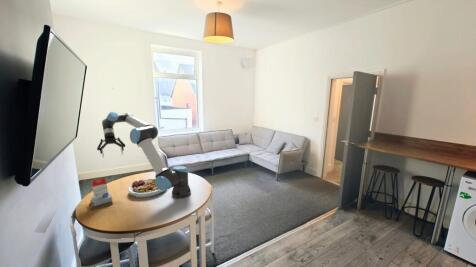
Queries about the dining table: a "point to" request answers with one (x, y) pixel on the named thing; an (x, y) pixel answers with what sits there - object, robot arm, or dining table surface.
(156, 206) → the dining table surface
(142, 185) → the bowl
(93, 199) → the tower top
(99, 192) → the ink box
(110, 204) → the tower base
